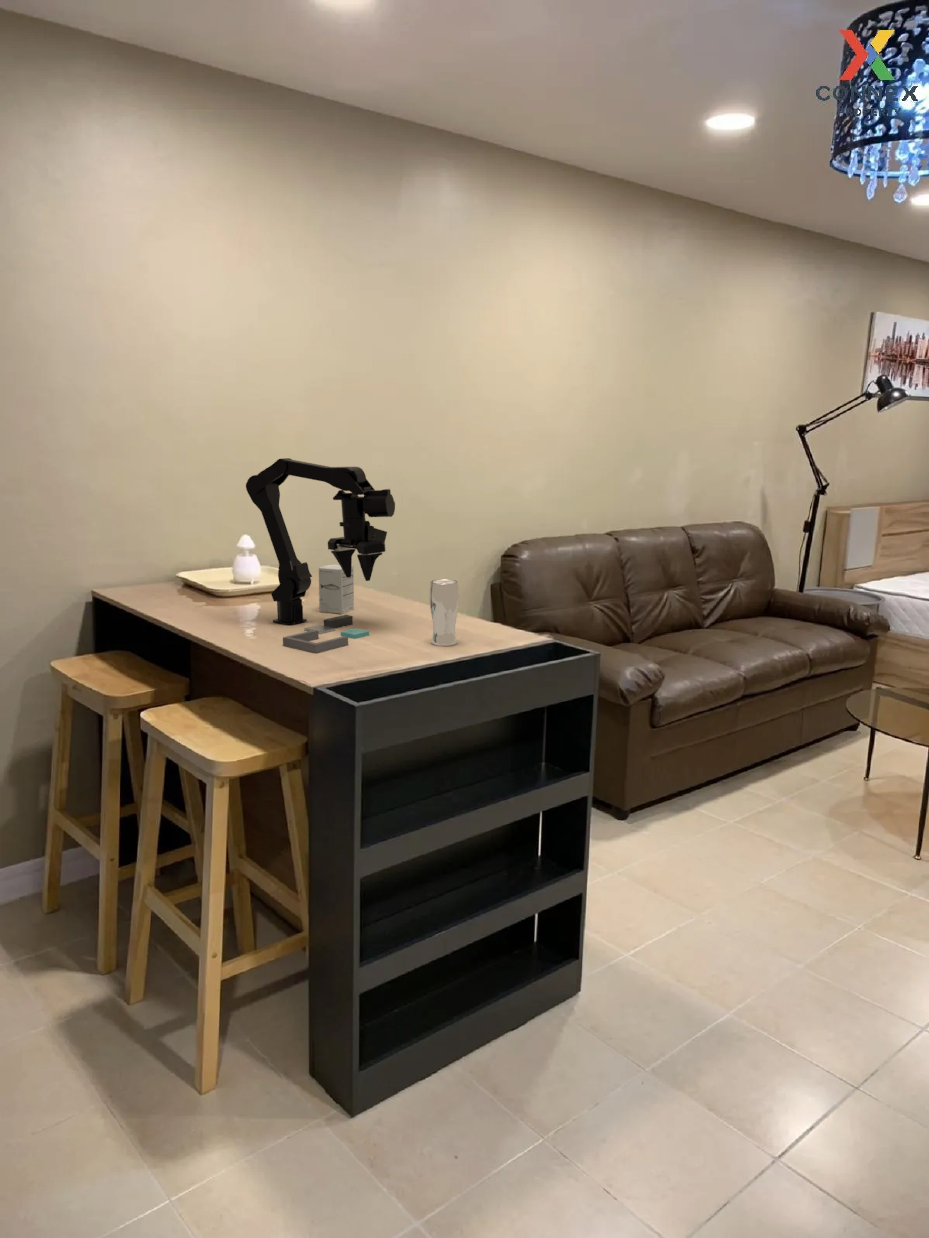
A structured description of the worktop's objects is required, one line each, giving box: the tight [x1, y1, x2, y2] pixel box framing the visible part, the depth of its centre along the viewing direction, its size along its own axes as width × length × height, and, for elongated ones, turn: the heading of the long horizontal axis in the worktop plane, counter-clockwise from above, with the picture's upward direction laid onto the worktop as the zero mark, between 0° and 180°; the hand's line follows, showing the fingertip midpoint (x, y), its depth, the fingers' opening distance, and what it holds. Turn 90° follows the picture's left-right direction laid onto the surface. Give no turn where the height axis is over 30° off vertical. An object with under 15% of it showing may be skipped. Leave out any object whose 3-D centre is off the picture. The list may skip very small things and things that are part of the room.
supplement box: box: [318, 564, 355, 615], centre depth 250 cm, size 7×7×13 cm
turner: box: [303, 614, 354, 635], centre depth 230 cm, size 13×6×2 cm, turn 142°
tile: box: [340, 627, 370, 640], centre depth 223 cm, size 5×5×2 cm
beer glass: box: [429, 578, 460, 647], centre depth 214 cm, size 7×7×15 cm
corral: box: [282, 630, 349, 654], centre depth 212 cm, size 11×10×2 cm
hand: (358, 579), depth 229 cm, fingers open, 9 cm apart
